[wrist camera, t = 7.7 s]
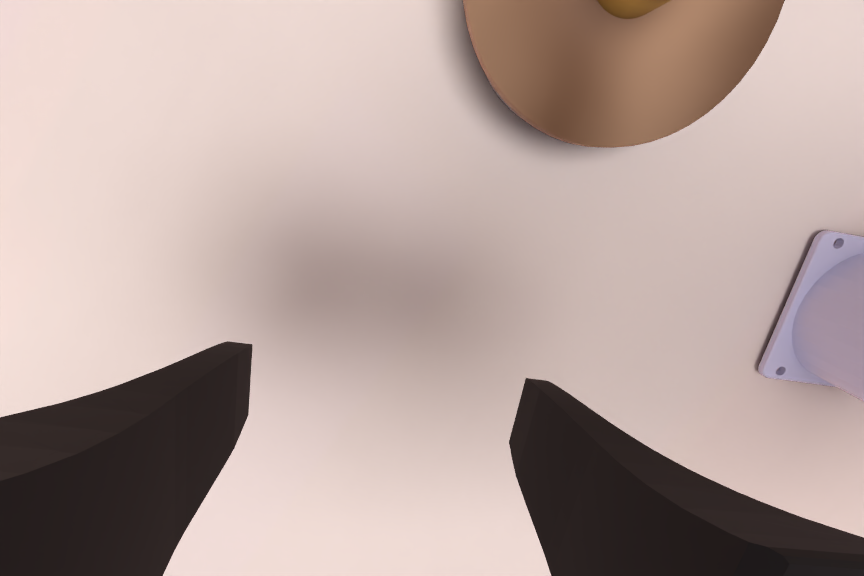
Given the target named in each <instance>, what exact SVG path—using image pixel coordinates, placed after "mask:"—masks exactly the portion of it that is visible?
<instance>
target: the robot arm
mask: <svg viewBox="0 0 864 576" xmlns="http://www.w3.org/2000/svg"><path fill="white" fill-rule="evenodd" d="M835 240H836V243H835V244H834V242H835ZM833 244H834V245H833ZM251 358H252V344H244V343H235V342H224V343H221V344H218V345H216V346H213V347H211V348H208V349H206V350H204V351H201V352H199V353H197V354H194V355H192V356H190V357H187V358H185V359H183V360H180V361H178V362H176V363H174V364H171V365H169V366H167V367H164V368H162V369H159V370H157V371H154V372H152V373H149V374H146V375H144V376H141V377H139V378H136V379H133V380H131V381H128V382H126V383H123V384H120V385H117V386H115V387H112V388H109V389H106V390H103V391H100V392H97V393H93V394H90V395H87V396H83V397H80V398H77V399H73V400H70V401H66V402H63V403H59V404H55V405H51V406H47V407H42V408H38V409H34V410H30V411H26V412H21V413H17V414H13V415H9V416H4V417H0V576H163V574H164V571H165V569H166V567H167V565H168V563H169V561H170V559H171V557H172V555H173V552H174V550H175V548H176V547H177V545H178V543H179V541H180V539H181V537H182V536H183V534H184V532H185V530H186V528H187V527H188V525H189V523H190V522H191V520H192V518H193V517H194V515H195V513H196V512H197V510H198V508H199V507H200V505H201V503H202V502H203V500H204V498H205V497H206V495H207V493H208V492H209V490H210V488H211V487H212V485H213V483H214V482H215V480H216V478H217V477H218V475H219V473H220V472H221V470H222V468H223V467H224V465H225V463H226V461H227V460H228V458H229V456H230V455H231V453H232V451H233V449H234V447H235V445H236V443H237V440H238V438H239V436H240V434H241V431H242V429H243V426H244V424H245V421H246V419H247V416H248V409H249V392H250V375H251ZM778 368H779V369H778ZM777 369H778V370H777ZM758 370H759V373H760V374H762V375H763V376H765V377H767V378H773V379H781V380H788V381H796V382H804V383H811V384H819V385H826V386H834V387H838V388H840V389H842V390H844V391H845V392H847V393H849V394H851V395H853V396H855V397H857V398H858V399H860V400H862V401H864V237H862V236H856V235H851V234H845V233H840V232H834V231H828V230H824V231H821V232H819V233H818V234H817V235H816V236H815V238H814V240H813V242H812V245H811V247H810V249H809V252H808V254H807V256H806V258H805V261H804V263H803V265H802V268H801V270H800V272H799V275H798V277H797V279H796V281H795V284H794V286H793V288H792V291H791V293H790V295H789V298H788V300H787V302H786V304H785V307H784V309H783V311H782V314H781V316H780V318H779V321H778V323H777V325H776V327H775V330H774V332H773V334H772V337H771V339H770V341H769V344H768V346H767V348H766V350H765V353H764V355H763V357H762V360H761V362H760V364H759V368H758ZM776 370H777V371H776ZM509 444H510V449H511V455H512V460H513V464H514V469H515V473H516V477H517V480H518V483H519V486H520V489H521V491H522V494H523V497H524V500H525V503H526V505H527V508H528V511H529V513H530V516H531V519H532V522H533V524H534V527H535V530H536V532H537V535H538V538H539V541H540V543H541V546H542V549H543V552H544V554H545V557H546V560H547V563H548V567H549V570H550V573H551V576H864V538H863V537H860V536H857V535H854V534H850V533H847V532H844V531H841V530H838V529H835V528H832V527H829V526H826V525H823V524H820V523H817V522H814V521H811V520H808V519H805V518H802V517H799V516H796V515H794V514H791V513H789V512H786V511H783V510H781V509H778V508H776V507H773V506H770V505H768V504H765V503H763V502H760V501H758V500H755V499H753V498H750V497H748V496H746V495H743V494H741V493H738V492H736V491H734V490H732V489H729V488H727V487H725V486H723V485H721V484H719V483H716V482H714V481H712V480H710V479H708V478H706V477H703V476H701V475H699V474H697V473H695V472H693V471H691V470H689V469H687V468H685V467H683V466H681V465H680V464H678V463H676V462H674V461H672V460H670V459H669V458H667V457H665V456H663V455H661V454H659V453H658V452H656V451H654V450H652V449H651V448H649V447H647V446H646V445H644V444H642V443H641V442H639V441H638V440H636V439H634V438H633V437H631V436H630V435H628V434H627V433H625V432H623V431H622V430H620V429H619V428H617V427H616V426H614V425H613V424H611V423H610V422H608V421H607V420H605V419H604V418H602V417H601V416H600V415H598V414H597V413H595V412H594V411H592V410H591V409H590V408H588V407H587V406H585V405H584V404H583V403H581V402H580V401H578V400H577V399H575V398H574V397H573V396H571V395H570V394H568V393H567V392H565V391H564V390H562V389H561V388H559V387H558V386H556V385H554V384H552V383H551V382H549V381H544V380H536V379H528V378H526V380H525V384H524V388H523V391H522V395H521V399H520V403H519V406H518V410H517V414H516V418H515V422H514V425H513V429H512V433H511V437H510V440H509Z"/></svg>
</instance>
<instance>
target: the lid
mask: <svg viewBox="0 0 864 576" xmlns="http://www.w3.org/2000/svg"><path fill="white" fill-rule="evenodd" d="M784 1H785V0H463V4H464V10H465V16H466V22H467V27H468V31H469V34H470V38H471V41H472V45H473V48H474V50H475V53H476V55H477V57H478V60H479V62H480V65H481V67H482V69H483V71H484V72H485V74H486V76H487V78H488V79H489V81H490V83H491V85H492V86H493V88H494V89H495V90H496V91H497V93H498V94H499V95H500V97H501V98H502V99H503V101H504V102H505V103H506V104H507V105H508V106H509V107H510V108H511V109H512V110H513V111H514V112H515V113H516V114H517V115H518V116H519V117H521V118H522V119H523V120H525V121H526V122H527V123H529V124H530V125H531V126H533V127H534V128H536V129H538V130H539V131H541V132H543V133H545V134H547V135H549V136H551V137H553V138H556V139H559V140H562V141H564V142H567V143H571V144H576V145H581V146H587V147H624V146H634V145H638V144H643V143H647V142H652V141H655V140H657V139H660V138H663V137H666V136H668V135H671V134H673V133H675V132H677V131H679V130H681V129H683V128H685V127H687V126H689V125H690V124H692V123H693V122H695V121H696V120H698V119H699V118H701V117H702V116H704V115H705V114H707V113H708V112H709V111H710V110H711V109H712V108H714V107H715V106H716V105H717V104H718V103H720V102H721V101H722V100H723V99H724V98H725V97H726V96H727V95H728V94H729V93H730V92H731V91H732V90H733V89H734V88H735V86H736V85H737V84H738V83H739V82H740V81H741V80H742V78H743V77H744V76H745V74H746V73H747V72H748V70H749V69H750V68H751V67H752V65H753V64H754V62H755V61H756V59H757V57H758V56H759V54H760V53H761V51H762V49H763V48H764V46H765V44H766V43H767V41H768V39H769V36H770V34H771V32H772V30H773V28H774V26H775V24H776V22H777V20H778V17H779V14H780V11H781V9H782V6H783V3H784Z"/></svg>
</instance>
